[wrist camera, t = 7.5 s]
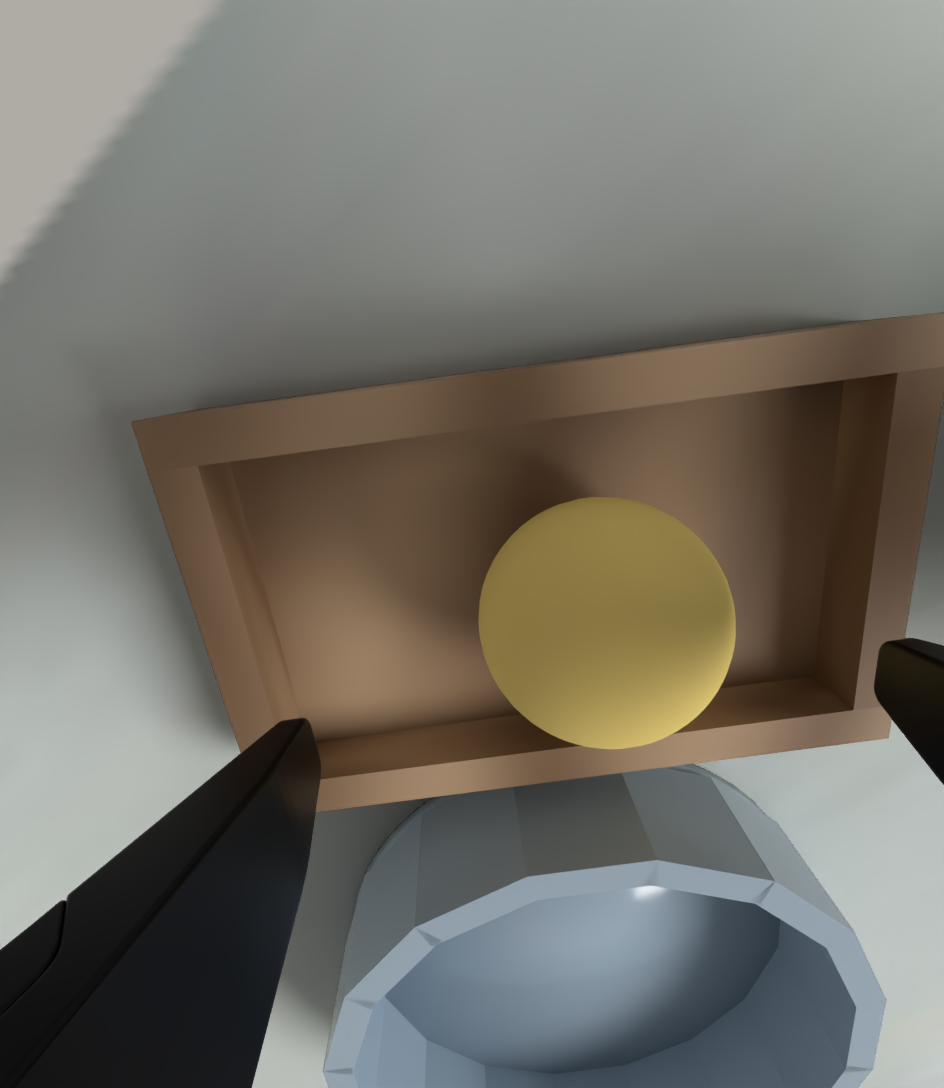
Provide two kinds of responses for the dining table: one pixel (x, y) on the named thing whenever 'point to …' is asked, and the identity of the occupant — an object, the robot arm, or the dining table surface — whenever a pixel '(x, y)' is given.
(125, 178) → the dining table surface
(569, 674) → the ball
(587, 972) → the bowl
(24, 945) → the robot arm
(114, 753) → the dining table surface
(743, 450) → the tray
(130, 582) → the dining table surface
